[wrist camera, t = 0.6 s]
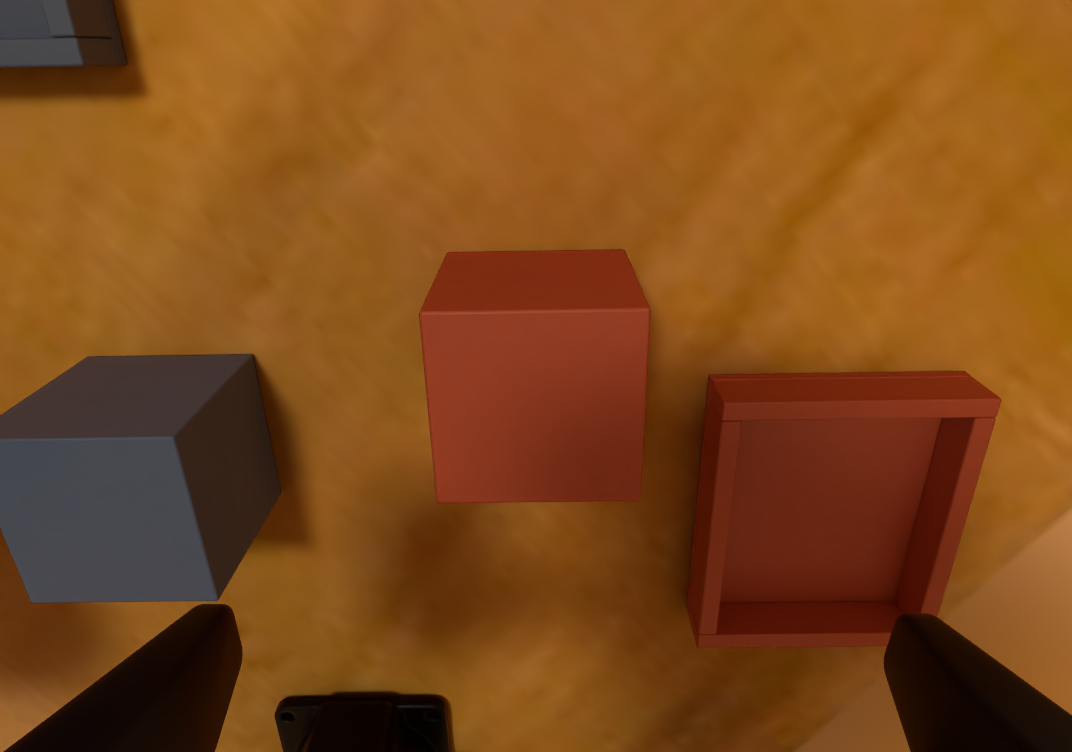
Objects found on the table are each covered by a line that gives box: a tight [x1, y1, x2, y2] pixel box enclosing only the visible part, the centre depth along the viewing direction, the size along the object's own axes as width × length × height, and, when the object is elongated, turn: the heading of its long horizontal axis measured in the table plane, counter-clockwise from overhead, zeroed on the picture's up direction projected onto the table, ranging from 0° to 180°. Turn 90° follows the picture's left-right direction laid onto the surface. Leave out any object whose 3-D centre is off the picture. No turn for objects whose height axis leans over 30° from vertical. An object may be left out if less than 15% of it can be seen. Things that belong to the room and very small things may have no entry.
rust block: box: [419, 249, 651, 503], centre depth 18 cm, size 5×5×5 cm
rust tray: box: [687, 371, 1001, 648], centre depth 22 cm, size 9×8×2 cm
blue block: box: [0, 354, 281, 603], centre depth 20 cm, size 5×5×5 cm
